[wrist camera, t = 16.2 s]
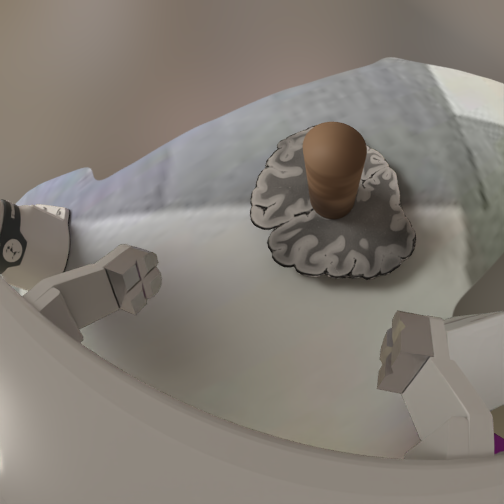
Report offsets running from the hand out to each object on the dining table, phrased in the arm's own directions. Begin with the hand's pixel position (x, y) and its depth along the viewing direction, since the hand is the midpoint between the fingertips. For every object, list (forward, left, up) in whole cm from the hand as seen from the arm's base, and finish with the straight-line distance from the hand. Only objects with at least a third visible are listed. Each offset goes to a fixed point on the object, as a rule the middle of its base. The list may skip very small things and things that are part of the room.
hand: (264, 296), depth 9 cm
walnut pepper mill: (-2, +12, -19) cm, 22 cm away
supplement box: (+15, +1, -21) cm, 26 cm away
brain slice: (-2, +12, -22) cm, 25 cm away
